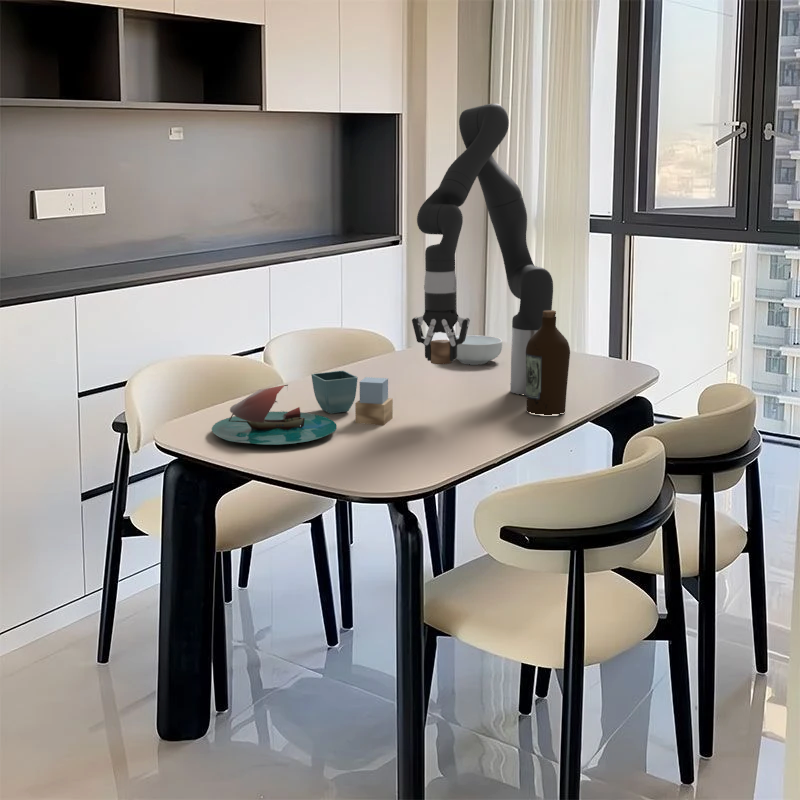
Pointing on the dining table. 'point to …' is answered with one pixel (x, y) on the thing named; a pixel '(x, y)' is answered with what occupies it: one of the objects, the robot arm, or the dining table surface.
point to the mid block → (373, 390)
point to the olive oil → (547, 368)
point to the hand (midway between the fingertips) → (441, 360)
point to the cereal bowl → (478, 349)
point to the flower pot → (335, 390)
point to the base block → (374, 412)
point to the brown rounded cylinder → (440, 352)
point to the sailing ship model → (270, 422)
